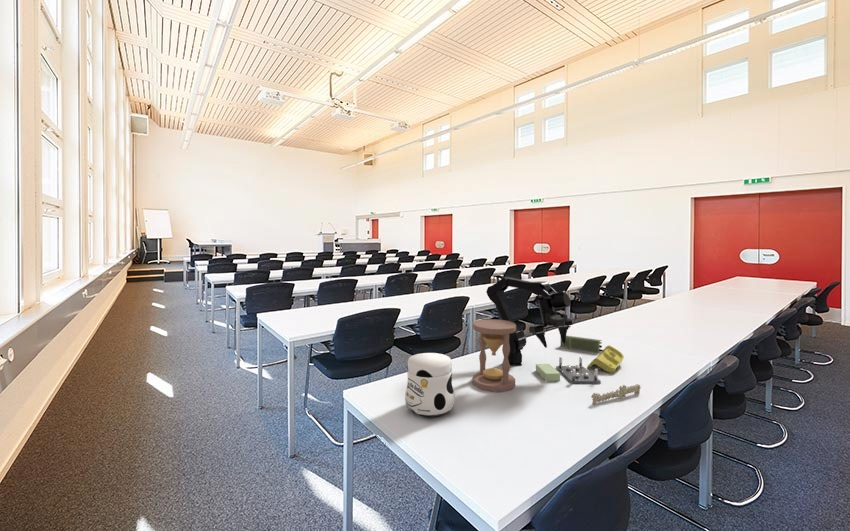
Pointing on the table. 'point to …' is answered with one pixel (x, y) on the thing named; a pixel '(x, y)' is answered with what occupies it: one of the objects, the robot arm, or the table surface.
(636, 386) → the decorative sign
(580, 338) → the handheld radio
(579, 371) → the chassis
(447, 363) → the milk container
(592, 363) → the plastic component
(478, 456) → the table surface
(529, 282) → the robot arm
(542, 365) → the board
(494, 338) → the hourglass
